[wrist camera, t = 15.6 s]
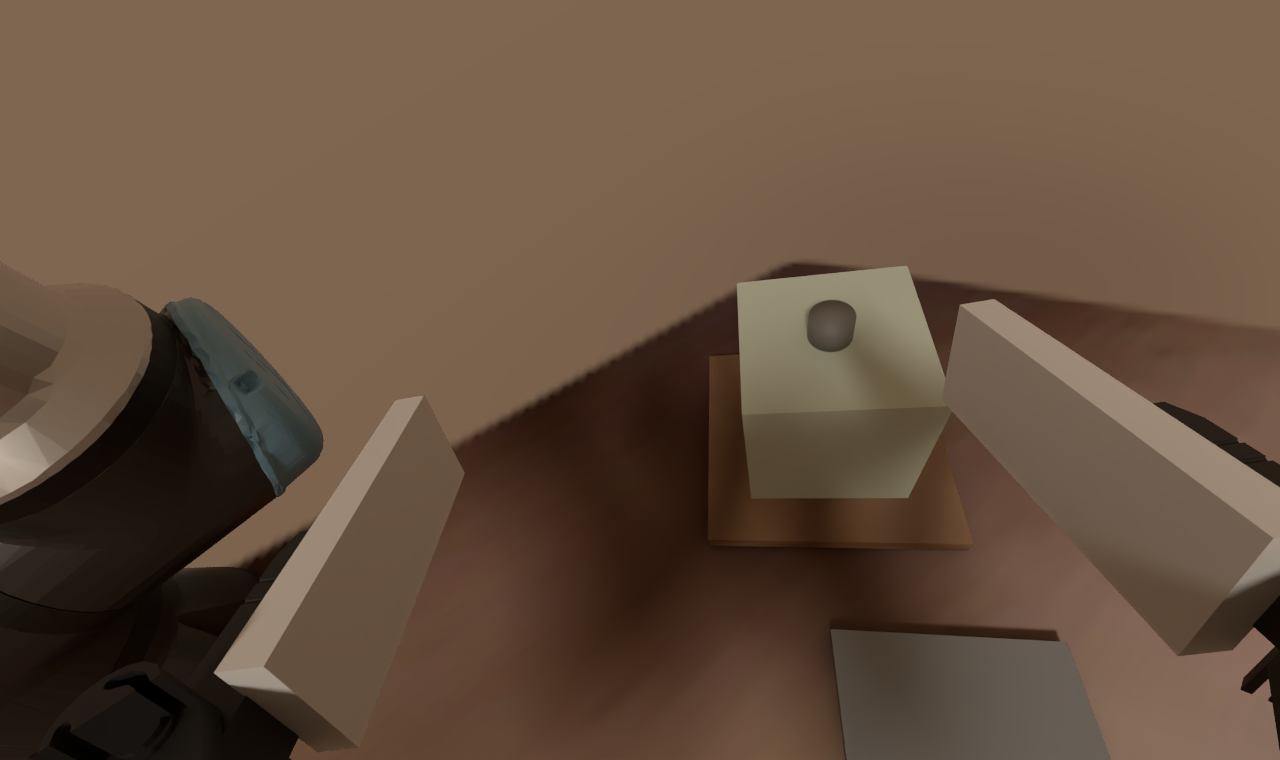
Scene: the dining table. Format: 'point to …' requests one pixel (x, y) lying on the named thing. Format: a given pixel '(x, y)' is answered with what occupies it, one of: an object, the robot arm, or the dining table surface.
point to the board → (818, 521)
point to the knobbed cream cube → (837, 385)
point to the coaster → (961, 698)
